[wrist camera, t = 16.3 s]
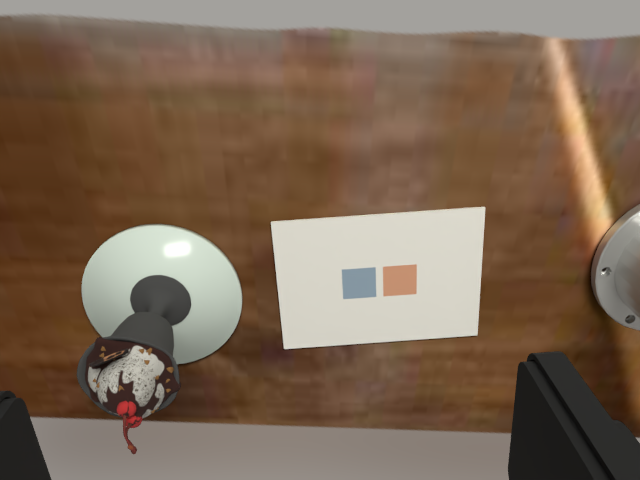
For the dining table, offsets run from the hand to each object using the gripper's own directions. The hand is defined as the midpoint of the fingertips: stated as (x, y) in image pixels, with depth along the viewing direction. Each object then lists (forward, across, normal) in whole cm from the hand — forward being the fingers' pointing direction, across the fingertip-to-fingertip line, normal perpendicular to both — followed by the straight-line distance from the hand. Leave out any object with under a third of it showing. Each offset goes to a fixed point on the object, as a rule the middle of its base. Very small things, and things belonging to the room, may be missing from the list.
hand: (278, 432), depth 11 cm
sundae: (+33, +12, +15) cm, 38 cm away
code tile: (+33, -6, +15) cm, 37 cm away
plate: (+33, +12, +15) cm, 38 cm away
